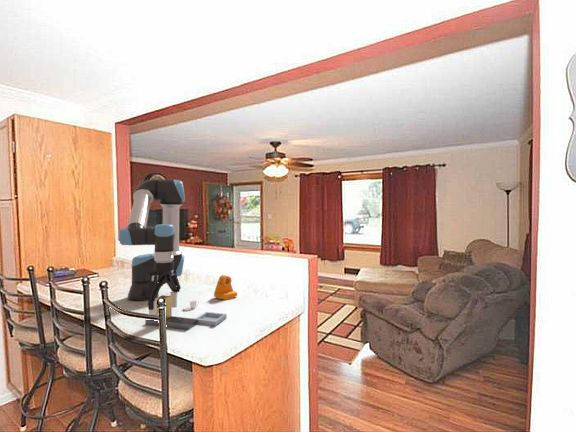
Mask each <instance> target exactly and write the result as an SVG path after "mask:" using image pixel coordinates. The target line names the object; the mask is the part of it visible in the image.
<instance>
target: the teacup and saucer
mask: <svg viewBox="0 0 576 432" xmlns="http://www.w3.org/2000/svg"><path fill="white" fill-rule="evenodd" d="M197 307H198V308H197ZM199 308H200V309H199ZM202 308H203V307H201V306H199V301H197V300H190V301H189V306H185V307H183V309H182V310H183V312H190V311H192V310H196V309H198V310H199V311H200V310H202Z"/></svg>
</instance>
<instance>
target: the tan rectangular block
mask: <svg viewBox="0 0 576 432" xmlns="http://www.w3.org/2000/svg"><path fill="white" fill-rule="evenodd" d="M159 298H164V299H165V301H166V321H167V320H169V319H171V317H172V316H173V315H172V311H173V310H172V309H173V307H172V296H171V295H164V294H162V295H160V296H158V297H156V298H155V301H156V315H158V309H157V300H158V299H159Z"/></svg>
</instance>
